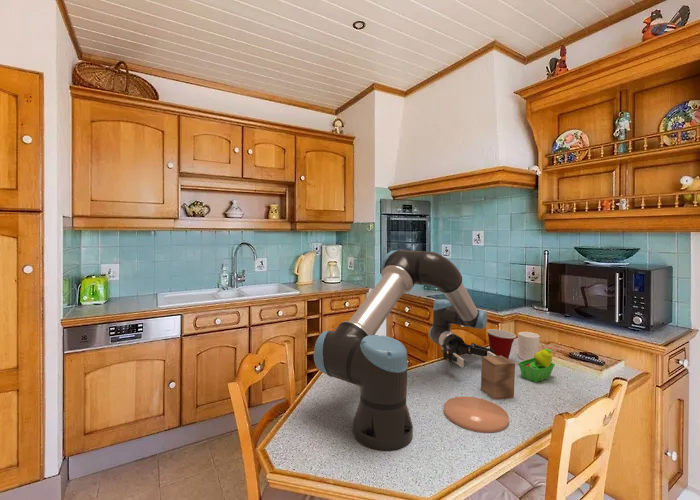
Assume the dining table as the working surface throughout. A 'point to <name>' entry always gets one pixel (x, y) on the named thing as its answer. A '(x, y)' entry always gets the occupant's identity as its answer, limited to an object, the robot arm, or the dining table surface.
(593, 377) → the dining table surface
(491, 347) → the plastic cup
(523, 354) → the white cup
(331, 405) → the dining table surface
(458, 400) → the dish
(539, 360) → the fruit basket
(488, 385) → the walnut block
